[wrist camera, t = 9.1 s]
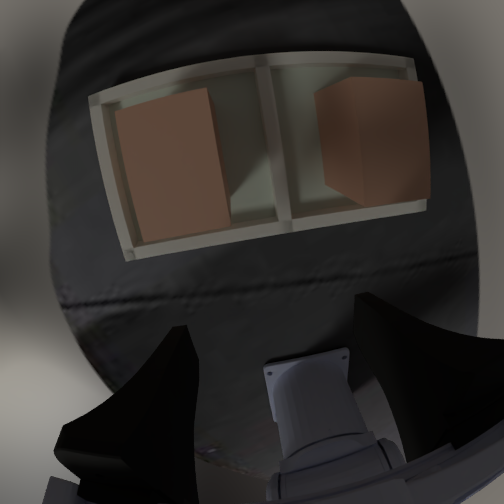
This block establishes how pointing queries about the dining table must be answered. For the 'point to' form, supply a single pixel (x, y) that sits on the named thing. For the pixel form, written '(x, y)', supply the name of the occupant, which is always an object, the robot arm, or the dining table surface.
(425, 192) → the loose block
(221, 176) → the seated block
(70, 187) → the dining table surface
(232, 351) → the dining table surface
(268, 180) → the divided tray
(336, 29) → the dining table surface
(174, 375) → the robot arm
